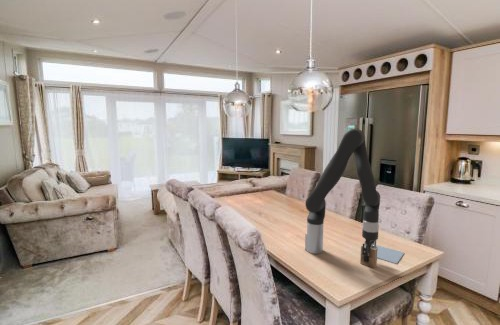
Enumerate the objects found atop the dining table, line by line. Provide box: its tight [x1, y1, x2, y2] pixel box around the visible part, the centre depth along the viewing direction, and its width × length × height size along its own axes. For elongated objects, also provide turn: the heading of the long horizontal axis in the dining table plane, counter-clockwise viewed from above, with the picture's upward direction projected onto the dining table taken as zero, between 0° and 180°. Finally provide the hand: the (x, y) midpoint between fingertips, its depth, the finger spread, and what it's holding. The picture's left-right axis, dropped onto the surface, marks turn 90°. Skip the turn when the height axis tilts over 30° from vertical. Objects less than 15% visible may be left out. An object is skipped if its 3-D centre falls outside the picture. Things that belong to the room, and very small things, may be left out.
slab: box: [360, 242, 378, 269], centre depth 137 cm, size 7×4×10 cm, turn 48°
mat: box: [376, 244, 405, 265], centre depth 150 cm, size 18×16×1 cm
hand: (368, 259), depth 138 cm, fingers open, 7 cm apart
